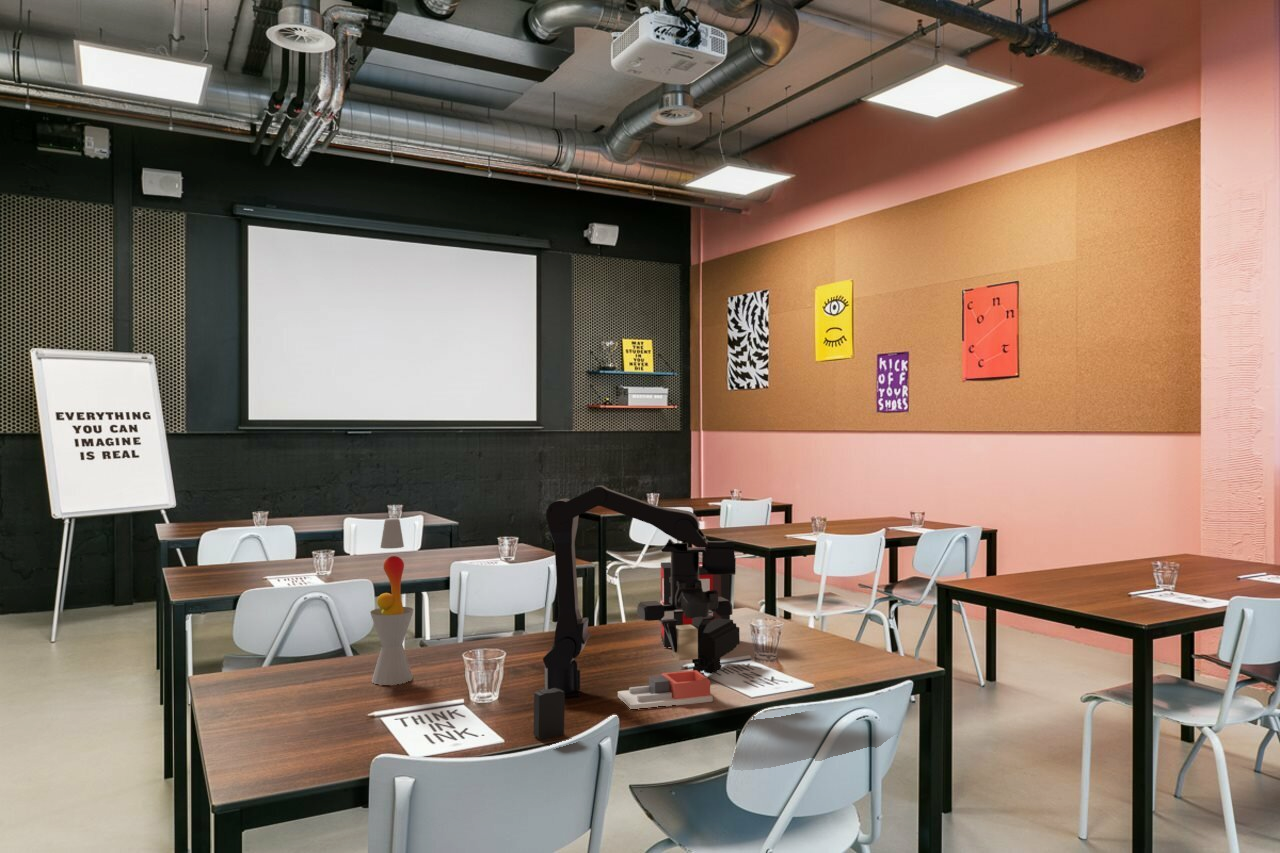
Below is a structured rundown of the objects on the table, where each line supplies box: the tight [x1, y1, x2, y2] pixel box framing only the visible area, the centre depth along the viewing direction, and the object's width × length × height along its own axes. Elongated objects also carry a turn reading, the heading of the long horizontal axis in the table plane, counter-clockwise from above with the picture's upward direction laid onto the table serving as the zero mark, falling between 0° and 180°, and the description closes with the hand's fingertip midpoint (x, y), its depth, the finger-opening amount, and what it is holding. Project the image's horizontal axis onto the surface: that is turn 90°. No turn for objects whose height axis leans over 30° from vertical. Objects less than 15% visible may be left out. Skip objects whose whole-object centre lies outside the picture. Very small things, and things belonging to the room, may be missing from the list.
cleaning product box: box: [660, 561, 731, 648], centre depth 210 cm, size 16×9×20 cm, turn 94°
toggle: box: [648, 675, 670, 694], centre depth 165 cm, size 3×4×3 cm
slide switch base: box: [617, 669, 714, 710], centre depth 165 cm, size 17×9×4 cm, turn 107°
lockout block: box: [671, 625, 698, 661], centre depth 166 cm, size 4×4×6 cm
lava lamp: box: [369, 517, 415, 686], centre depth 179 cm, size 9×9×35 cm
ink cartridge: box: [532, 688, 566, 741], centre depth 145 cm, size 5×2×8 cm, turn 121°
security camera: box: [691, 618, 740, 677], centre depth 185 cm, size 7×18×10 cm, turn 152°
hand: (685, 651), depth 166 cm, fingers closed on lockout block, 4 cm apart
